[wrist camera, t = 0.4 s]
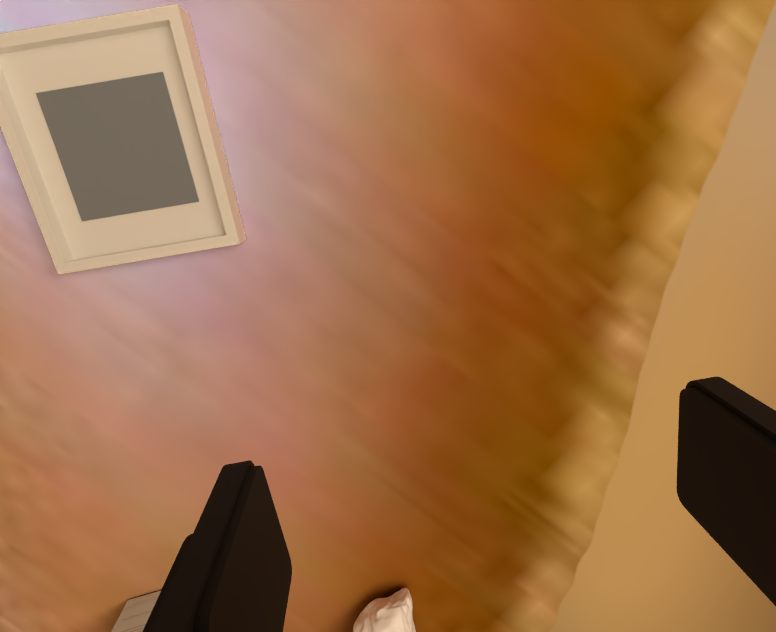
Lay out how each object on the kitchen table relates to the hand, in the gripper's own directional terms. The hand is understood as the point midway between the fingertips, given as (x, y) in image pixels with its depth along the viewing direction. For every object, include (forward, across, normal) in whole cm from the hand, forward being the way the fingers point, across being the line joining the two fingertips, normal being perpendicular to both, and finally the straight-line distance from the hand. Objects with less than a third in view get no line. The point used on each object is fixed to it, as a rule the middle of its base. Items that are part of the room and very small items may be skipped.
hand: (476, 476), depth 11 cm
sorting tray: (+30, +18, -10) cm, 37 cm away
